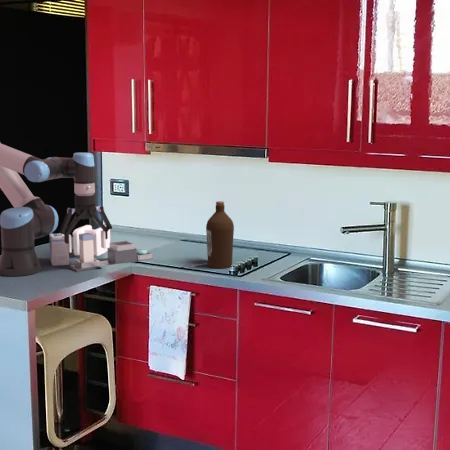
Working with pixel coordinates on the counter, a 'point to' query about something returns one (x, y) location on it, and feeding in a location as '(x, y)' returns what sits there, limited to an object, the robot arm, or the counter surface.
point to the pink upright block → (86, 247)
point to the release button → (141, 251)
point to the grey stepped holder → (113, 257)
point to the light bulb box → (58, 250)
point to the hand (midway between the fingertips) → (86, 249)
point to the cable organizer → (96, 239)
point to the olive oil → (220, 238)
